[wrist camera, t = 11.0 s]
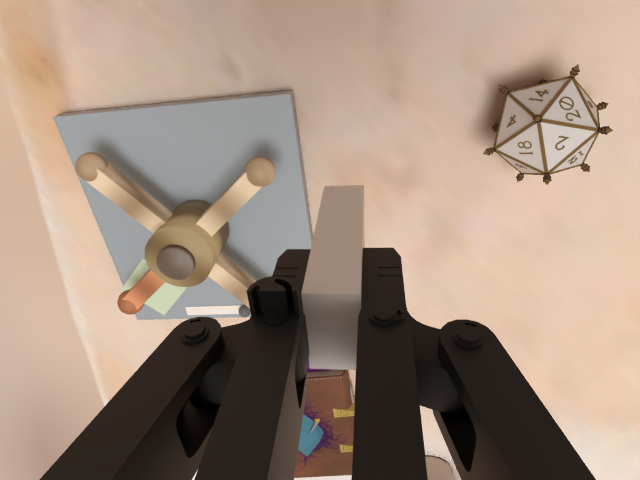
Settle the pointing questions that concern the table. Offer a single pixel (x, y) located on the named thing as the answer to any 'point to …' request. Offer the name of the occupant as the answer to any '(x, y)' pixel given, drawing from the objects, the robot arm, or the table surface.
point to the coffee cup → (438, 469)
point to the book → (326, 425)
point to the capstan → (180, 230)
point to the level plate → (198, 185)
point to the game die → (547, 127)
